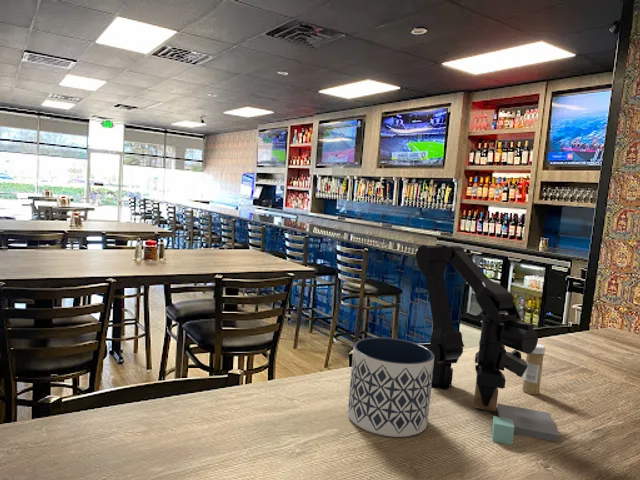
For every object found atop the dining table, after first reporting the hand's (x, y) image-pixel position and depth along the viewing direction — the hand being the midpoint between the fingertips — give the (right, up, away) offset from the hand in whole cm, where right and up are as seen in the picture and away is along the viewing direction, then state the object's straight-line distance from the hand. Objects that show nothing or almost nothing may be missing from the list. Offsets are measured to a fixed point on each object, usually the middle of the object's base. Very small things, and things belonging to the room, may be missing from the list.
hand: (485, 401), depth 121 cm
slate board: (+7, -3, -7) cm, 10 cm away
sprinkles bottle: (+17, -2, +14) cm, 22 cm away
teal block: (-2, -3, -15) cm, 15 cm away
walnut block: (0, -1, 0) cm, 1 cm away
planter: (-26, -1, -10) cm, 28 cm away
